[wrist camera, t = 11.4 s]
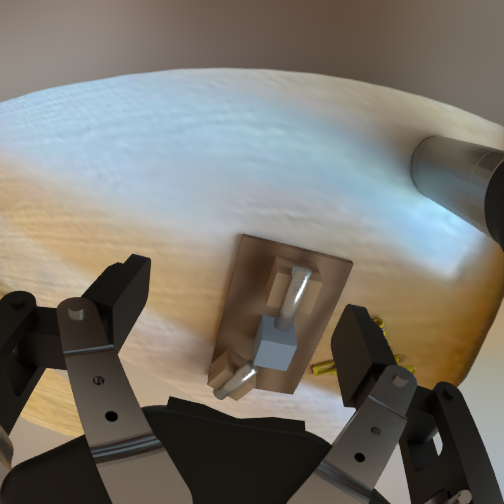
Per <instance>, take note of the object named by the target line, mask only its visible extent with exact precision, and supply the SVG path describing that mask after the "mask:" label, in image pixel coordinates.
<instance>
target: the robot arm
mask: <svg viewBox="0 0 504 504" xmlns="http://www.w3.org/2000/svg"><path fill="white" fill-rule="evenodd" d="M411 173H412V178H413V181H414V184H415V186H416V187H417V189H418V190H419V191H420V192H421V194H423V195H424V196H426V197H427V198H429V199H431V200H432V201H434V202H436V203H437V204H439V205H441V206H442V207H444V208H445V209H447V210H449V211H450V212H452V213H454V214H455V215H457V216H458V217H460V218H461V219H463V220H465V221H466V222H468V223H469V224H471V225H472V226H474V227H475V228H477V229H478V230H480V231H481V232H483V233H484V234H486V235H487V236H489V237H490V238H492V239H493V240H494V241H496V242H497V243H498V244H500V246H501V249H502V250H503V252H504V151H503V150H499V149H495V148H491V147H487V146H483V145H479V144H474V143H470V142H465V141H461V140H456V139H451V138H446V137H441V136H433V137H430V138H427V139H426V140H424V141H423V142H422V143H421V144H420V145H419V146H418V147H417V149H416V150H415V152H414V155H413V158H412V162H411ZM150 269H151V259H150V258H148V257H144V256H140V255H136V254H132V255H131V256H130V257H129V258H128V259H127V260H126V261H125V262H124V264H122V263H119V262H117V263H115V264H113V265H111V266H109V267H107V268H106V269H105V270H104V272H103V273H102V275H100V276H99V277H98V278H97V280H95V281H94V283H93V284H92V285H91V286H90V287H89V288H88V289H87V290H86V291H85V293H84V294H83V295H82V296H81V297H73V298H68V299H66V300H64V301H62V302H61V303H60V304H59V305H58V307H57V308H49V307H40V306H37V304H36V299H35V297H34V296H33V295H32V294H31V293H29V292H26V291H14V292H11V293H8V294H7V295H5V296H4V297H3V298H2V299H1V300H0V504H390V503H389V502H388V501H387V500H386V499H385V498H384V497H383V496H382V495H381V494H380V493H379V492H378V491H377V490H376V489H375V488H374V486H375V485H376V483H377V481H378V479H379V477H380V476H381V474H382V472H383V470H384V468H385V466H386V464H387V463H388V461H389V459H390V457H391V455H392V453H393V451H394V449H395V447H396V445H397V443H398V442H399V446H400V450H401V455H402V459H403V464H404V469H405V474H406V478H407V484H408V489H409V494H410V500H411V504H504V501H503V498H502V495H501V492H500V489H499V485H498V483H497V480H496V477H495V473H494V471H493V468H492V465H491V463H490V460H489V457H488V454H487V452H486V449H485V446H484V444H483V441H482V439H481V436H480V434H479V432H478V429H477V427H476V425H475V422H474V420H473V418H472V415H471V413H470V411H469V409H468V406H467V404H466V402H465V400H464V397H463V395H462V393H461V392H460V391H459V389H458V388H457V387H455V386H454V385H452V384H451V383H448V382H439V383H437V384H436V386H435V387H434V388H433V390H430V389H427V388H424V387H421V386H418V385H417V380H416V378H415V376H414V375H413V374H412V373H411V372H410V371H409V370H407V369H406V368H404V367H402V366H399V365H397V362H396V360H395V358H394V355H393V353H392V351H391V349H390V346H388V342H387V340H386V339H385V335H384V333H383V331H382V329H381V328H380V327H379V326H378V325H377V323H376V322H375V321H373V320H371V318H370V316H369V313H368V311H367V309H366V308H365V307H362V306H357V305H352V304H348V305H346V307H345V309H344V311H343V313H342V315H341V317H340V319H339V322H338V324H337V326H336V328H335V330H334V332H333V335H332V338H331V350H332V354H333V359H334V363H335V368H336V372H337V377H338V381H339V386H340V390H341V395H342V400H343V404H344V407H353V408H355V409H356V412H355V413H354V414H353V416H352V417H351V418H350V420H349V421H348V423H347V424H346V425H345V427H344V428H343V430H342V431H341V432H340V434H339V435H338V436H337V438H336V439H335V440H334V442H333V443H332V444H329V443H328V442H327V441H325V440H324V439H322V438H321V437H319V436H317V435H315V434H313V433H310V432H308V431H305V421H301V420H292V419H284V418H276V417H265V418H244V419H240V418H235V417H232V416H230V415H227V414H225V413H222V412H220V411H217V410H215V409H213V408H210V407H208V406H206V405H204V404H200V403H195V402H191V401H187V400H182V399H179V398H175V397H171V396H170V397H169V400H168V404H167V405H154V406H146V407H142V408H140V405H139V403H138V401H137V399H136V397H135V395H134V392H133V390H132V388H131V386H130V384H129V381H128V379H127V376H126V374H125V372H124V369H123V367H122V364H121V362H120V359H119V357H118V353H119V351H120V349H121V347H122V345H123V344H124V342H125V340H126V338H127V336H128V335H129V333H130V331H131V329H132V327H133V326H134V324H135V322H136V320H137V319H138V317H139V315H140V313H141V312H142V310H143V308H144V306H145V304H146V301H147V298H148V292H149V281H150ZM46 368H52V369H61V370H67V372H68V376H69V380H70V384H71V388H72V392H73V396H74V400H75V403H76V407H77V410H78V414H79V417H80V420H81V423H82V427H83V430H84V433H85V434H84V435H82V436H80V437H77V438H75V439H73V440H71V441H69V442H67V443H65V444H62V445H60V446H58V447H56V448H54V449H52V450H49V451H47V452H45V453H43V454H40V455H38V456H35V457H33V458H31V459H28V460H26V461H24V462H22V463H20V464H18V465H16V466H15V467H14V468H12V467H11V461H12V457H13V451H14V450H13V445H12V442H11V440H10V438H9V437H8V436H9V434H10V432H11V430H12V428H13V427H14V425H15V423H16V421H17V419H18V417H19V415H20V413H21V411H22V410H23V408H24V406H25V404H26V402H27V400H28V399H29V397H30V395H31V393H32V392H33V390H34V388H35V386H36V385H37V383H38V381H39V379H40V378H41V376H42V374H43V373H44V371H45V369H46ZM437 432H439V434H440V437H441V440H442V443H443V447H442V451H441V453H440V455H439V456H438V454H437V451H436V448H435V444H434V441H433V437H434V436H435V435H436V434H437Z"/></svg>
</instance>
